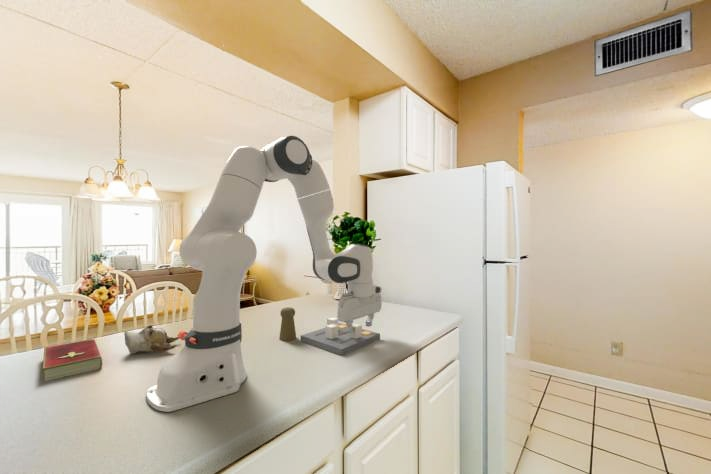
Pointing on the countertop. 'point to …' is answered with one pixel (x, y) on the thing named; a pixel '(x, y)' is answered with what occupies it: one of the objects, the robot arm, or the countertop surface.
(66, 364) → the hardcover book
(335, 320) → the switch left
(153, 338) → the ceramic sculpture
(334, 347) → the switch panel
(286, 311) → the cork
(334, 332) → the switch middle
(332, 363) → the countertop surface
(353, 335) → the cream slider knob
